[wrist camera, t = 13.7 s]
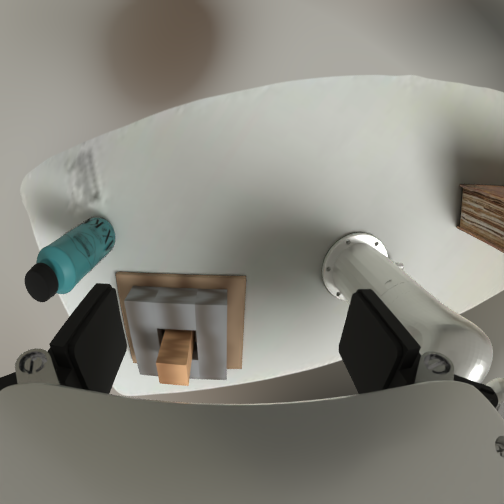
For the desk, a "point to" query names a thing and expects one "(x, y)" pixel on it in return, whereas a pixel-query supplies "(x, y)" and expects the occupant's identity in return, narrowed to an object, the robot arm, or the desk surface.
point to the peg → (175, 357)
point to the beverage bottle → (69, 259)
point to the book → (483, 213)
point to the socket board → (195, 282)
